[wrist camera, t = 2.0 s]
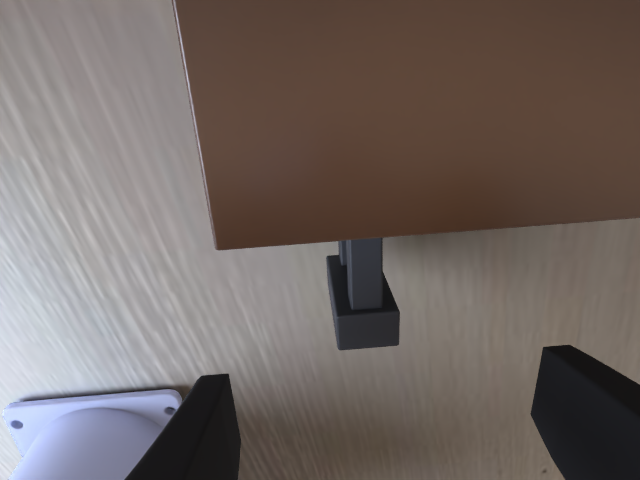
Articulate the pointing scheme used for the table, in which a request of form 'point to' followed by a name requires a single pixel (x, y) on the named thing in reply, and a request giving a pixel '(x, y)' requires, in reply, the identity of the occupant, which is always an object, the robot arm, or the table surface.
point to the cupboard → (411, 115)
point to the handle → (361, 296)
